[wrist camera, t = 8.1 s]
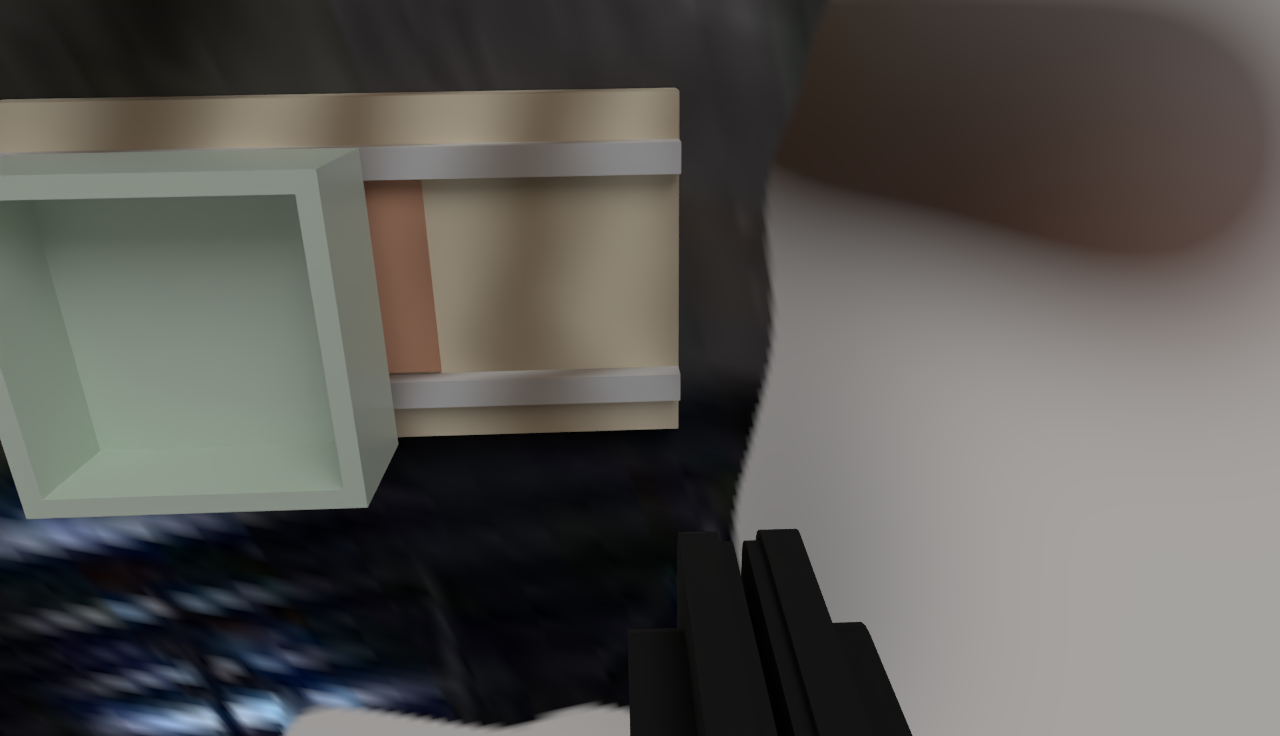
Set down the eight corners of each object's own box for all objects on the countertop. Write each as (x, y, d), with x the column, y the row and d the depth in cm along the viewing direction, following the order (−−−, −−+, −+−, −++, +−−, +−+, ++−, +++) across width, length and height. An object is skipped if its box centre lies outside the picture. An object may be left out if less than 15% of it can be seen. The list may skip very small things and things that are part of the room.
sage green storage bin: (375, 139, 27) (315, 169, 21) (410, 418, 30) (367, 507, 25) (60, 145, 26) (-85, 177, 21) (133, 426, 30) (26, 519, 24)
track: (675, 87, 29) (681, 92, 27) (674, 411, 33) (680, 438, 31) (6, 99, 28) (-43, 105, 26) (97, 428, 32) (62, 457, 30)
